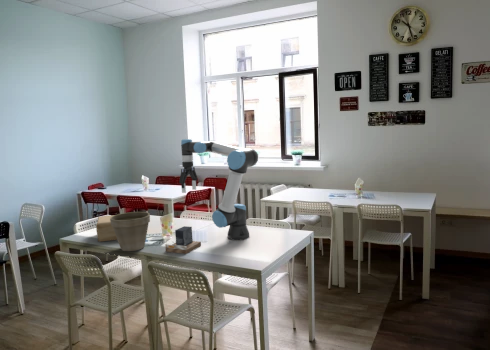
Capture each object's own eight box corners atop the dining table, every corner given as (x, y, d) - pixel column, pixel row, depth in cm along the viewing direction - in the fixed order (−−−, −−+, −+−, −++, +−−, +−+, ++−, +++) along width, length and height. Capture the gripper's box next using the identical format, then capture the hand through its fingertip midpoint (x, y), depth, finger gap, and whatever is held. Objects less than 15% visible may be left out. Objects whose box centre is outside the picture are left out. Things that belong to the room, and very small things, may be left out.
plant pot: (105, 249, 269) (102, 216, 266) (137, 240, 287) (135, 209, 284) (126, 256, 252) (123, 221, 249) (159, 246, 270) (157, 214, 268)
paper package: (135, 229, 318) (134, 212, 316) (137, 238, 293) (136, 219, 292) (98, 233, 310) (97, 215, 308) (97, 243, 285) (95, 223, 284)
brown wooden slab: (201, 245, 270) (200, 238, 269) (185, 254, 253) (185, 246, 253) (181, 243, 276) (181, 236, 275) (165, 251, 259) (164, 244, 259)
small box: (184, 241, 271) (183, 225, 270) (193, 242, 269) (192, 226, 267) (175, 246, 262) (174, 229, 261) (184, 247, 259) (183, 230, 258)
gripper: (192, 159, 303) (194, 188, 306) (172, 162, 281) (174, 193, 283) (201, 159, 300) (202, 188, 303) (182, 163, 278) (183, 194, 280)
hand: (189, 191), depth 293 cm, fingers open, 13 cm apart
